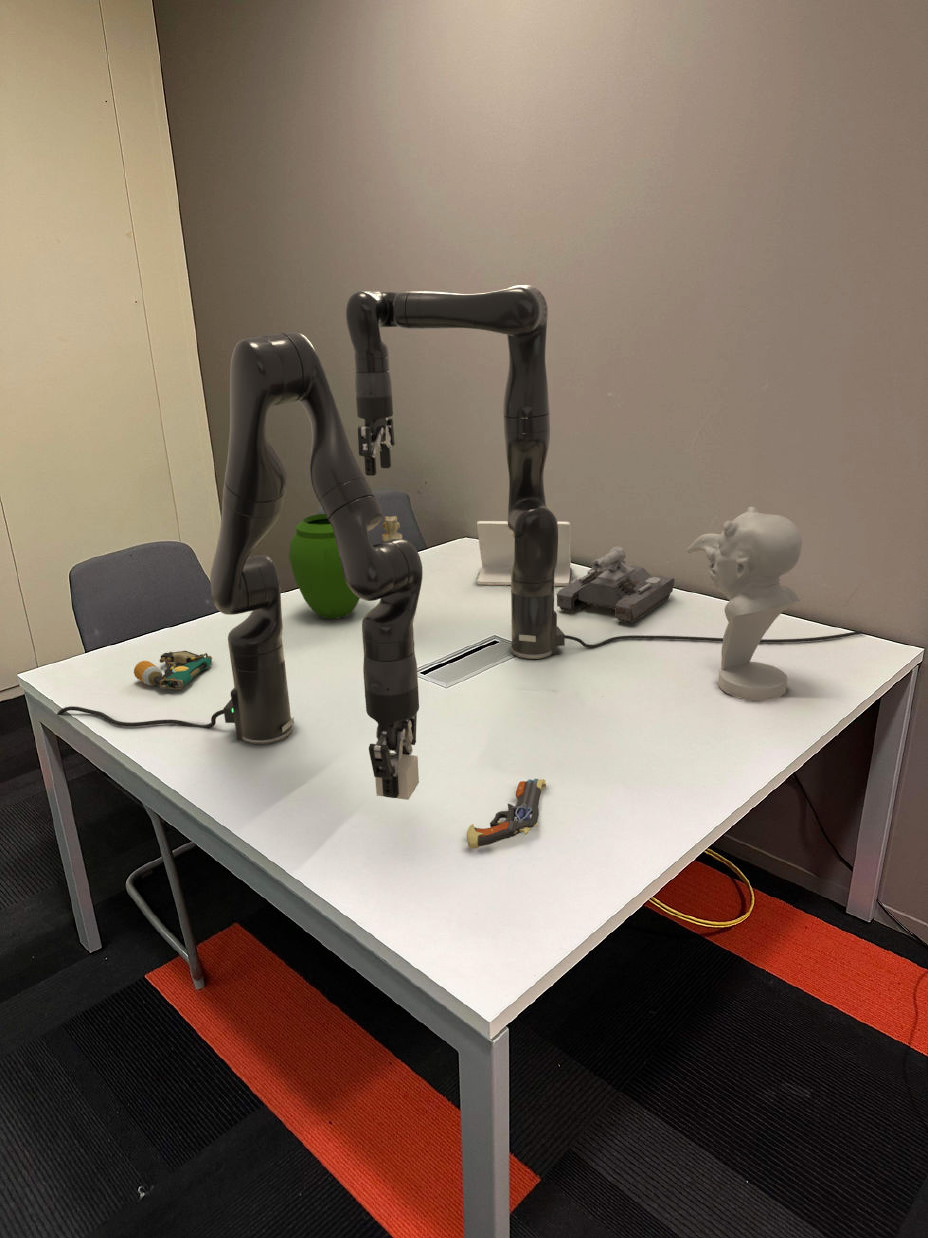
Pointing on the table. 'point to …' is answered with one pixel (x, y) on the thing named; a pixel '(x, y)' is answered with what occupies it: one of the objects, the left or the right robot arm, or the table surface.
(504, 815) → the toy gun
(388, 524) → the sculpture
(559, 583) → the tablet stand
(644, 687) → the table surface
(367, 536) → the left robot arm
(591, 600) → the toy
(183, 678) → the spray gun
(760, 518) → the bust sculpture
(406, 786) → the beige cube
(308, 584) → the vase
